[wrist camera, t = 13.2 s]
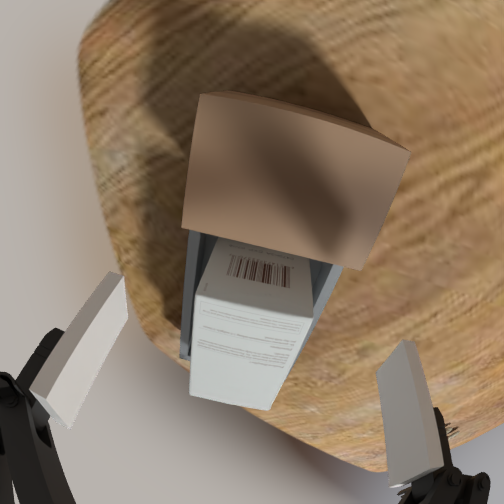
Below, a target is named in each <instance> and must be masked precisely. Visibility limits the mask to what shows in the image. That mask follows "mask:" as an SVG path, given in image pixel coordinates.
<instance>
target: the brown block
mask: <svg viewBox="0 0 504 504" xmlns="http://www.w3.org/2000/svg"><path fill="white" fill-rule="evenodd" d="M410 155H411V152H410V151H409V150H407V149H406V148H404V147H402V146H401V145H399V144H398V143H396V142H394V141H393V140H391V139H390V138H388V137H386V136H385V135H383V134H381V133H379V132H378V131H376V130H374V129H372V128H369V127H367V126H364V125H361V124H358V123H355V122H352V121H350V120H347V119H343V118H340V117H337V116H334V115H331V114H328V113H324V112H321V111H318V110H314V109H310V108H307V107H303V106H299V105H296V104H292V103H288V102H284V101H279V100H275V99H271V98H266V97H262V96H257V95H252V94H247V93H242V92H236V91H231V90H227V91H217V92H209V93H201V94H200V96H199V102H198V108H197V113H196V119H195V125H194V132H193V138H192V145H191V151H190V158H189V166H188V173H187V181H186V189H185V198H184V207H183V216H182V226H181V228H185V229H189V230H193V231H198V232H202V233H206V234H210V235H215V236H219V237H223V238H227V239H231V240H236V241H240V242H244V243H248V244H252V245H256V246H261V247H265V248H269V249H273V250H277V251H281V252H285V253H290V254H294V255H298V256H302V257H306V258H310V259H314V260H318V261H322V262H326V263H330V264H335V265H339V266H343V267H347V268H351V269H355V270H359V271H361V270H362V268H363V266H364V264H365V262H366V260H367V258H368V256H369V253H370V251H371V249H372V247H373V245H374V243H375V241H376V238H377V236H378V234H379V232H380V230H381V227H382V225H383V223H384V220H385V218H386V216H387V213H388V211H389V209H390V206H391V204H392V201H393V199H394V197H395V194H396V192H397V189H398V187H399V184H400V181H401V179H402V176H403V174H404V171H405V168H406V166H407V163H408V160H409V157H410Z"/></svg>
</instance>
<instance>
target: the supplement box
mask: <svg viewBox="0 0 504 504" xmlns="http://www.w3.org/2000/svg"><path fill="white" fill-rule="evenodd" d="M313 317H314V314H313V298H312V285H311V274H310V263H309V258H306V257H302V256H298V255H294V254H290V253H285V252H281V251H277V250H273V249H269V248H265V247H261V246H256V245H252V244H248V243H244V242H240V241H236V240H231V239H227V238H223V237H218V239H217V242H216V244H215V246H214V249H213V251H212V254H211V256H210V259H209V261H208V264H207V266H206V268H205V271H204V273H203V276H202V278H201V280H200V283H199V286H198V288H197V291H196V293H195V300H194V313H193V328H192V343H191V360H190V381H189V394H190V395H193V396H197V397H201V398H206V399H210V400H214V401H219V402H223V403H227V404H233V405H238V406H243V407H249V408H254V409H260V410H270V408H271V406H272V403H273V401H274V399H275V397H276V396H277V394H278V392H279V390H280V388H281V386H282V384H283V382H284V380H285V378H286V377H287V374H288V372H289V370H290V368H291V367H292V364H293V362H294V360H295V358H296V356H297V354H298V352H299V350H300V348H301V345H302V343H303V341H304V339H305V336H306V334H307V332H308V330H309V328H310V325H311V323H312V320H313Z"/></svg>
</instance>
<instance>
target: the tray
mask: <svg viewBox="0 0 504 504" xmlns="http://www.w3.org/2000/svg"><path fill="white" fill-rule="evenodd" d="M218 237H219V236H215V235H210V234H206V233H202V232H198V231H193V230H189V237H188V247H187V257H186V268H185V279H184V291H183V305H182V320H181V337H180V358H181V359H185V360H188V361H190V360H191V343H192V328H193V313H194V300H195V293H196V291H197V288H198V286H199V283H200V280H201V278H202V276H203V273H204V271H205V268H206V266H207V264H208V261H209V259H210V256H211V254H212V251H213V249H214V246H215V244H216V242H217V239H218ZM309 263H310V274H311V285H312V298H313V314H314V317H313V320H312V323H311V325H310V328H309V330H308V332H307V334H306V336H305V339H304V341H303V343H302V345H301V348H300V350H299V352H298V354H297V356H296V358H295V360H294V362H293V364H292V367H293V366H294V364H295V362H296V360H297V358H298V357H299V355H300V353H301V351H302V349H303V347H304V346H305V344H306V342H307V340H308V338H309V336H310V334H311V332H312V331H313V329H314V327H315V325H316V323H317V321H318V319H319V317H320V315H321V313H322V311H323V309H324V307H325V305H326V303H327V301H328V299H329V297H330V295H331V293H332V291H333V289H334V287H335V284H336V282H337V280H338V278H339V276H340V274H341V272H342V269H343V266H339V265H335V264H330V263H326V262H322V261H318V260H314V259H310V258H309ZM292 367H291V368H290V370H289V372H288V374H289V373H290V371H291V369H292ZM288 374H287V376H288ZM286 378H287V377H286ZM286 378H285V380H286ZM285 380H284V381H285Z"/></svg>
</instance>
